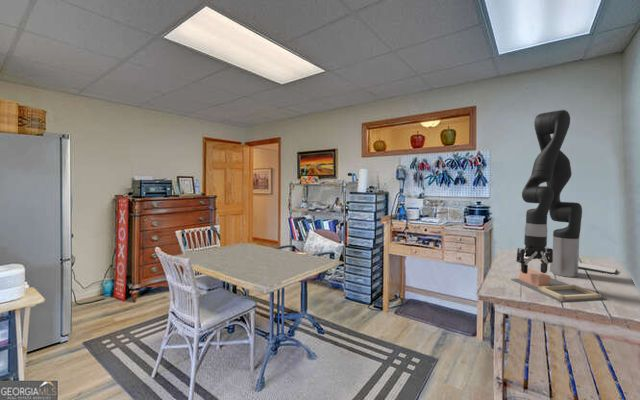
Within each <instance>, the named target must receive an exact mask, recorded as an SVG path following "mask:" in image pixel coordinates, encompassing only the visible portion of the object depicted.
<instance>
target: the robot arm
mask: <svg viewBox="0 0 640 400" xmlns="http://www.w3.org/2000/svg"><path fill="white" fill-rule="evenodd" d="M570 125H571V116H570V113H569V112H568V110H565V109H560V110H555V111H554V110H553V111H548V112H543V113H542V112H541V113H538V114H537V115H536V116H535V117H534V130H535V135H536V138H537V142H538V145H539V146H538V147H539V149H540V153H538V155H537V156H536V158H535V159H534V163H533V166H532V170H531V175H530V177H529V178H528V180H527V182H526V183H525V185H524V187H523V189H522V192H521V197H522V200H523V201H524V202H525V203H528V204H538V206H537V207H536V208H530V209H527V210H526V214H525V227H524V239H523V240H524V242H523V243H524V245H525V247H524V248H522V247H521V248H520V247H518V248H517V250H516V251H517V252H516V260H515V261H516V262H517V263H519V264H520V265H521V266H520V269H521V271H522V273H525V274H527V273H528V269H529V268H528V266H529V265H528V264H529V263H530V262H532V261H533V260H536V259H537V260H539V261H540V272H541V273H543V274H547V272H548V265H549V271H550V272H551V273H552V274H554V275H557V276H561V277H568V278H569V277H570V278H576V277H578V276H579V269H578V263H579V261H580V259H579V256H580V254H579V253H580V236H581V235H580V234H581V228H582V217H583V208H582V205H581V204H580V203H579V202H573V201H572V202H571V201H568V202H567V201H561V193H562V191H563V189H564V188H565V187H566V185H567V184H568V182H569V181H570V180H571V177H572V175H573V174H572V168H571V162H570V159H569V157H568V156H567V155H566V154H565V153H564V152H563V151H562V150H561V148H562V145H563V143H564V141H565V138H566V136H567V133H568V131H569V128H570ZM551 135H552V136H551ZM543 183H546V186H544V185H543V186H542V185H541V184H543ZM540 185H541V186H540ZM548 215H549V217H550V219H551V221H554V222H560V223H568V224H567V226H565V227H563V228H558V229H554V230H553V231H552V232H553V234H552V236H553V237H552V248H550V247H547V245H548Z"/></svg>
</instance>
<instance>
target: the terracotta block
mask: <svg viewBox="0 0 640 400" xmlns="http://www.w3.org/2000/svg"><path fill="white" fill-rule="evenodd" d="M518 273H519V275H518V276H519V278H518V279H520V280H522V281H524V282H527V283H529V284H531V285H534V286H536V287H538V286H550V278H551V275H548V274H547V273H542V272H541V271H538V270H535V269H532V268H528V273H527V274H525V273H522V271H521V268H520V269H519V272H518Z"/></svg>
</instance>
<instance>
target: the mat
mask: <svg viewBox="0 0 640 400" xmlns="http://www.w3.org/2000/svg"><path fill="white" fill-rule="evenodd" d="M510 280H511V281H513V282H515V283H518V284H519V285H521V286H524V287H526V288H529V289H531V290H533V291H535V292H538V293H540V294H542V295H544V296H546V297H549V298H551V299H553V300H556V301H558V302H560V303H568V302H570V303H571V302H587V301H604V300H605V299H608V298H606V297H603V296H602V294H600V293H598V292H595V291H593V290H590V289H587V288H584V287H581V286H579V285H576V284H568V283H566V282H563V281H561V280H558V279H555V278H552V277H550V286H538V287H536V286H534V285H531V284H529V283H527V282H524V281H522V280H520V279H519V278H511V279H510ZM605 301H606V300H605Z"/></svg>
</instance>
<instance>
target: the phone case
mask: <svg viewBox="0 0 640 400" xmlns="http://www.w3.org/2000/svg"><path fill="white" fill-rule="evenodd" d="M578 270H583V271H590V272H595V273H601V274H606V273H607V274H606V275H612V274H618V269H616V268H612V267H606V266H600V265H593V264H587V263H582V262H578Z"/></svg>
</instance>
